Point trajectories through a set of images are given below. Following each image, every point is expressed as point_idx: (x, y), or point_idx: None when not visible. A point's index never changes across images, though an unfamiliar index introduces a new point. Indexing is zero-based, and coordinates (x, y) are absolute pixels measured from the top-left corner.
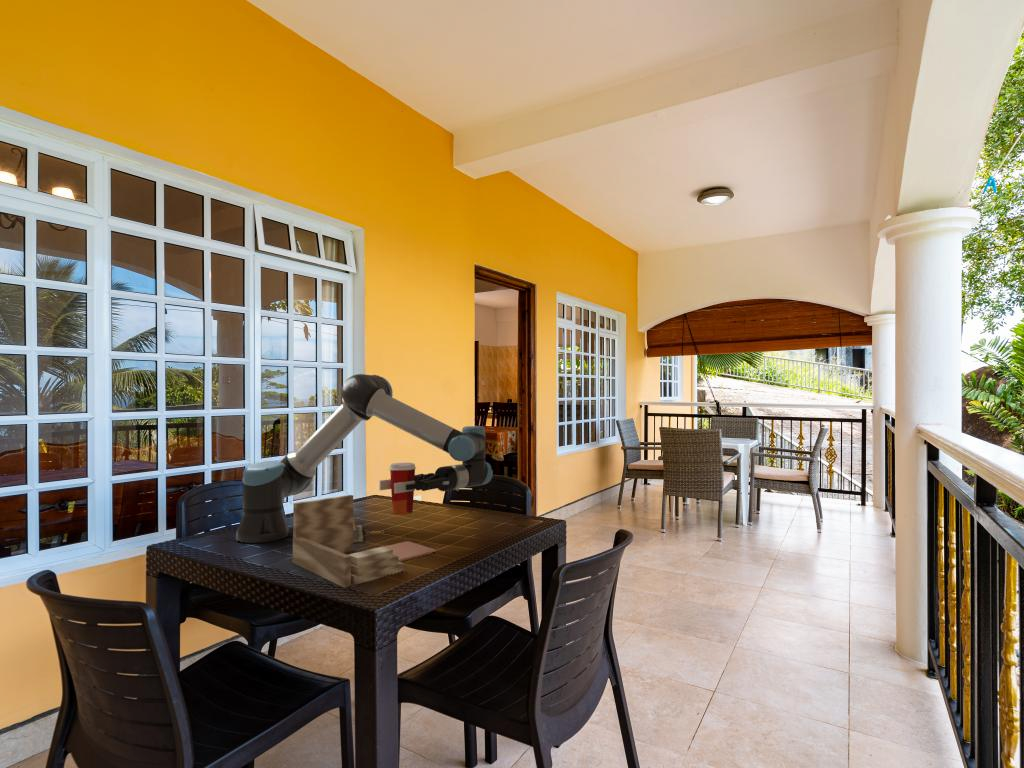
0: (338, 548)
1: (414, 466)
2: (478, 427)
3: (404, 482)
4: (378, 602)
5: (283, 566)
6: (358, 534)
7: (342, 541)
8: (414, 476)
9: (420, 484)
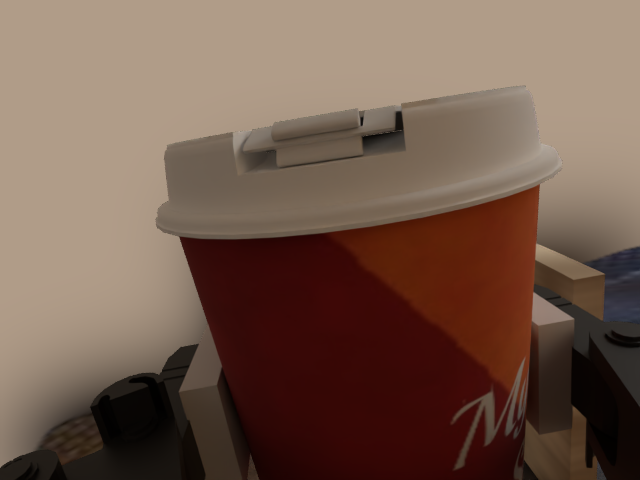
0: (525, 444)
1: (186, 189)
2: None
3: None
4: (64, 441)
5: None
6: None
7: (535, 436)
8: (245, 362)
9: (80, 465)
